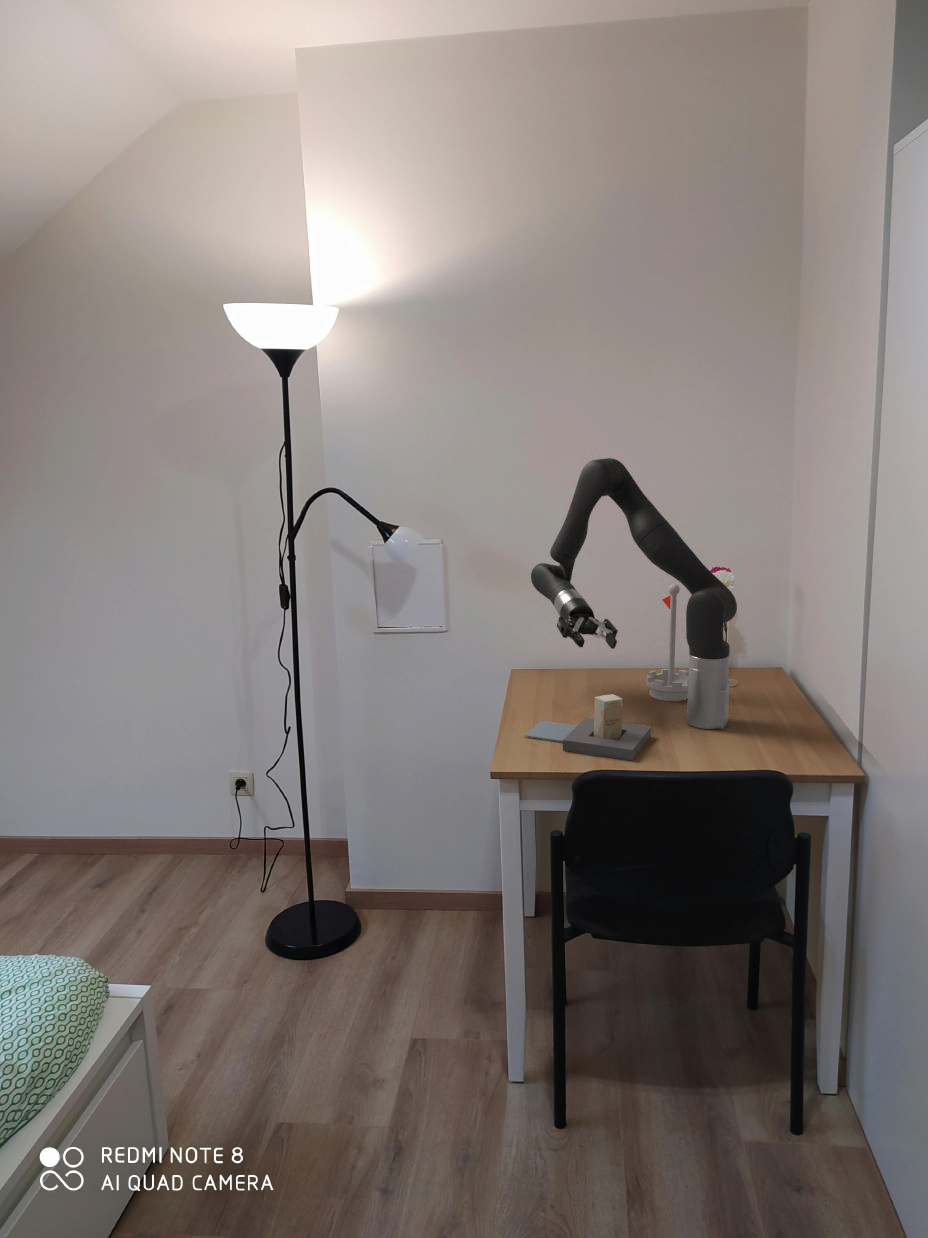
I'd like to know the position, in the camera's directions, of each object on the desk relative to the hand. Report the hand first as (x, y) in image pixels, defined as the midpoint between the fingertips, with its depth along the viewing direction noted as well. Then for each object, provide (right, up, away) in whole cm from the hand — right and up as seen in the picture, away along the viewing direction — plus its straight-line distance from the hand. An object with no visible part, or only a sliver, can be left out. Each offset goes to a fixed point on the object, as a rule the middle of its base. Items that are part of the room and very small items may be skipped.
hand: (598, 644), depth 217 cm
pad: (-11, -21, -1) cm, 24 cm away
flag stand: (+23, -14, +26) cm, 37 cm away
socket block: (+1, -22, -8) cm, 24 cm away
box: (+1, -23, -8) cm, 24 cm away
